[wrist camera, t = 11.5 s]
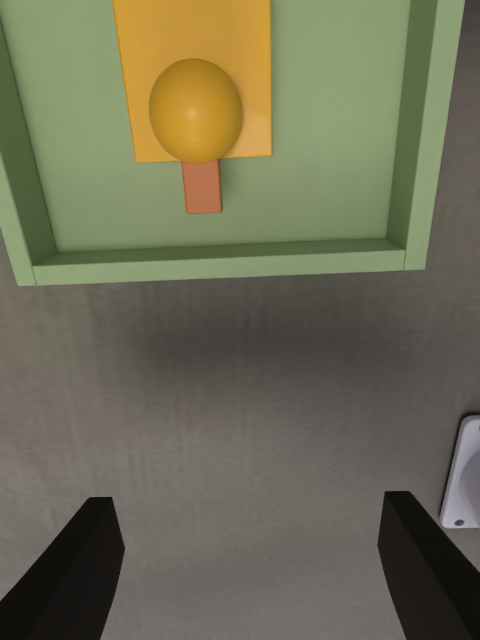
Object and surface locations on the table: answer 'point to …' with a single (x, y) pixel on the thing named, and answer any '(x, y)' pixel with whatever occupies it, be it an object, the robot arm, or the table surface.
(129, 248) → the tray
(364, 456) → the table surface
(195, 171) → the toy duck
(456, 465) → the robot arm
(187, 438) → the table surface
